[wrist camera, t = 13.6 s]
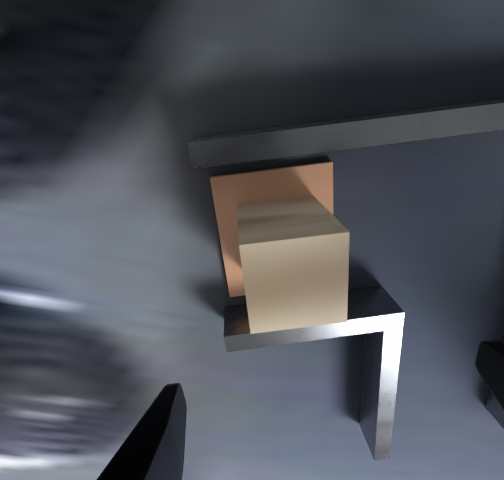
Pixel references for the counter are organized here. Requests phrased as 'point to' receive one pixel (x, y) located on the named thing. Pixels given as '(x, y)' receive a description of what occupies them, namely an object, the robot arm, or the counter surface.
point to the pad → (258, 189)
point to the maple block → (293, 263)
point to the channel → (361, 300)
